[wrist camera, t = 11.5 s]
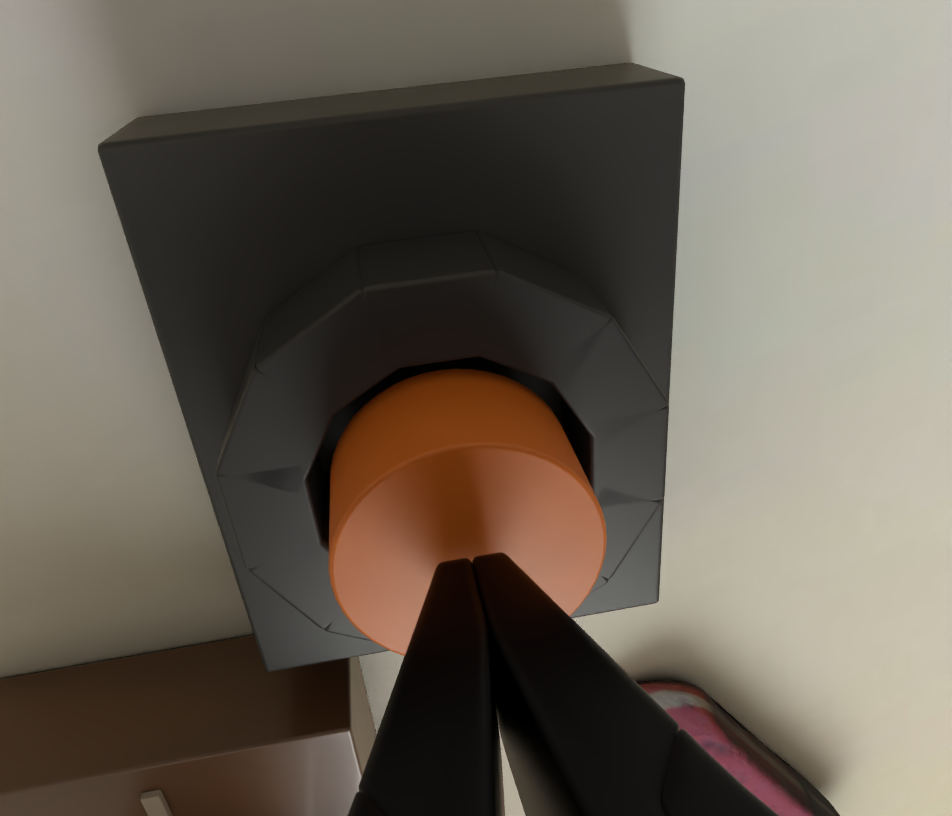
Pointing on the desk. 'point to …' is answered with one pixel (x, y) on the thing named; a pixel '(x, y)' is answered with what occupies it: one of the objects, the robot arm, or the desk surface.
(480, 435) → the button
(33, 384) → the desk surface
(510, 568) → the robot arm
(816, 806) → the eraser
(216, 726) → the dial panel
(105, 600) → the desk surface
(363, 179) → the orange button panel
